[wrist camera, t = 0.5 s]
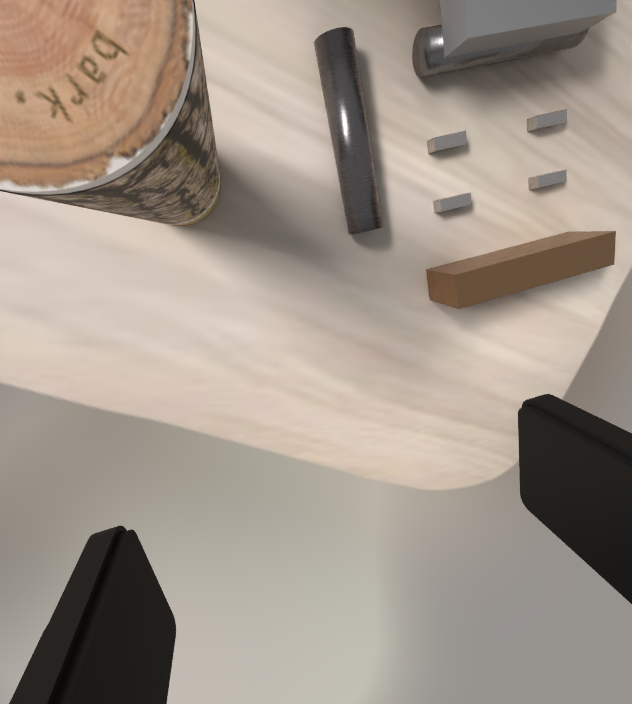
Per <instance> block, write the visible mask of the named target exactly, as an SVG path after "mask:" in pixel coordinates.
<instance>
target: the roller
mask: <svg viewBox="0 0 632 704" xmlns="http://www.w3.org/2000/svg"><path fill="white" fill-rule="evenodd" d="M314 46H315V51H316V57H317V62H318V67H319V73H320V78H321V84H322V89H323V95H324V100H325V106H326V111H327V117H328V122H329V128H330V133H331V139H332V144H333V150H334V155H335V160H336V166H337V171H338V177H339V182H340V188H341V193H342V199H343V204H344V210H345V215H346V221H347V226H348V232H349V234H355V233H360V232H365V231H369V230H374V229H377V228H381V227H383V222H382V215H381V209H380V202H379V196H378V189H377V183H376V176H375V169H374V163H373V156H372V150H371V143H370V137H369V130H368V124H367V117H366V110H365V104H364V97H363V91H362V84H361V78H360V71H359V64H358V58H357V51H356V45H355V38H354V32H353V30H352V29H351V28H347V27H342V28H336V29H332V30H330V31H327V32H325V33H323V34H322V35H320V36H319V37H318V38H317V39H316V40H315V42H314Z"/></svg>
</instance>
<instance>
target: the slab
mask: <svg viewBox="0 0 632 704" xmlns="http://www.w3.org/2000/svg"><path fill="white" fill-rule="evenodd" d="M440 11H441V23H442V34H443V46H444V57H451V56H456V55H462V54H467V53H473V52H478V51H484V50H489V49H494V48H500V47H505V46H511V45H516V44H522V43H527V42H532V41H538V40H543V39H549V38H554V37H560V36H565V35H571V34H576V33H581V32H582V31H584V30H586V29H587V28H589V27H591V26H593V25H594V24H596V23H598V22H599V21H601V20H603V19H605V18H606V17H608V16H610V15H612V14H613V13H615V12H616V0H440Z"/></svg>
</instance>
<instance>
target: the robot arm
mask: <svg viewBox="0 0 632 704" xmlns="http://www.w3.org/2000/svg"><path fill="white" fill-rule="evenodd" d="M518 430H519V467H520V495H521V499H522V502H523V503H524V505H525V507H526V508H527V509H528V510H529V511H530V512H531V513H532V514H533V515H534V516H535V517H537V518H538V519H539V520H540V521H541V522H542V523H543V524H544V525H545V526H546V527H548V528H549V529H550V530H551V531H552V532H553V533H554V534H555V535H556V536H557V537H559V538H560V539H561V540H562V541H563V542H564V543H565V544H566V545H567V546H568V547H570V548H571V549H572V550H573V551H574V552H575V553H576V554H577V555H578V556H579V557H581V558H582V559H583V560H584V561H585V562H586V563H587V564H588V565H589V566H590V567H592V568H593V569H594V570H595V571H596V572H597V573H598V574H599V575H600V576H601V577H603V578H604V579H605V580H606V581H607V582H608V583H609V584H610V585H611V586H612V587H614V588H615V589H616V590H617V591H618V592H619V593H620V594H621V595H622V596H623V597H625V598H626V599H627V600H628V601H629V602H630V603H631V604H632V433H630V432H627V431H625V430H623V429H621V428H619V427H617V426H615V425H613V424H611V423H609V422H607V421H605V420H603V419H601V418H599V417H597V416H594V415H592V414H590V413H588V412H586V411H584V410H582V409H580V408H578V407H576V406H574V405H572V404H570V403H568V402H565V401H563V400H561V399H559V398H557V397H555V396H553V395H550V394H544V395H541V396H538V397H535V398H531V399H528V400H526V401H524V402H523V404H522V408H521V409H519V411H518ZM175 637H176V624H175V619H174V616H173V613H172V611H171V609H170V607H169V604H168V602H167V600H166V598H165V596H164V594H163V591H162V589H161V587H160V585H159V583H158V580H157V578H156V576H155V574H154V571H153V569H152V567H151V565H150V563H149V561H148V559H147V556H146V554H145V552H144V550H143V547H142V545H141V543H140V541H139V539H138V536H137V534H136V533H135V531H134V530H128V531H127V530H126V529H125V528H124V527H123V526H117V527H114V528H111V529H108V530H104V531H101V532H98V533H95V534H93V535H91V536H90V538H89V539H88V541H87V543H86V545H85V547H84V550H83V552H82V554H81V556H80V558H79V560H78V562H77V564H76V567H75V569H74V571H73V573H72V575H71V577H70V580H69V581H68V584H67V586H66V588H65V590H64V592H63V594H62V596H61V598H60V601H59V603H58V605H57V607H56V609H55V611H54V613H53V615H52V617H51V619H50V622H49V624H48V625H47V627H46V629H45V630H44V632H43V634H42V636H41V638H40V640H39V642H38V645H37V647H36V649H35V651H34V653H33V655H32V657H31V659H30V661H29V663H28V665H27V668H26V670H25V672H24V674H23V676H22V678H21V680H20V682H19V685H18V686H17V689H16V691H15V693H14V695H13V697H12V699H11V701H10V703H9V704H166V703H167V696H168V688H169V681H170V673H171V667H172V659H173V652H174V645H175Z"/></svg>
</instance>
